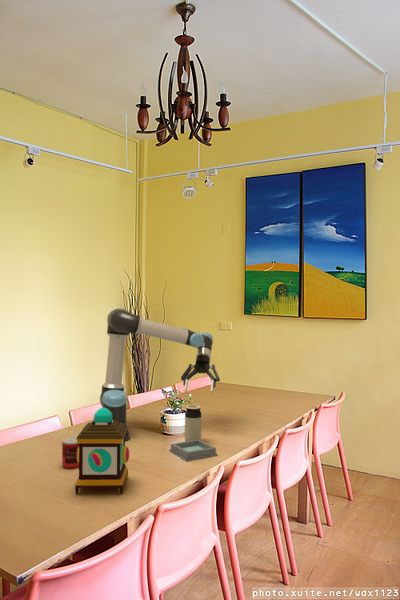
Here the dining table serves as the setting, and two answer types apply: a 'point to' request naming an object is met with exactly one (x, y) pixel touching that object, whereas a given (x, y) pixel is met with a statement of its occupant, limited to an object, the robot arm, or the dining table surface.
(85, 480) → the decorative lantern
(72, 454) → the canned food
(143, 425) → the dining table surface
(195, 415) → the travel mug
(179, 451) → the tray
